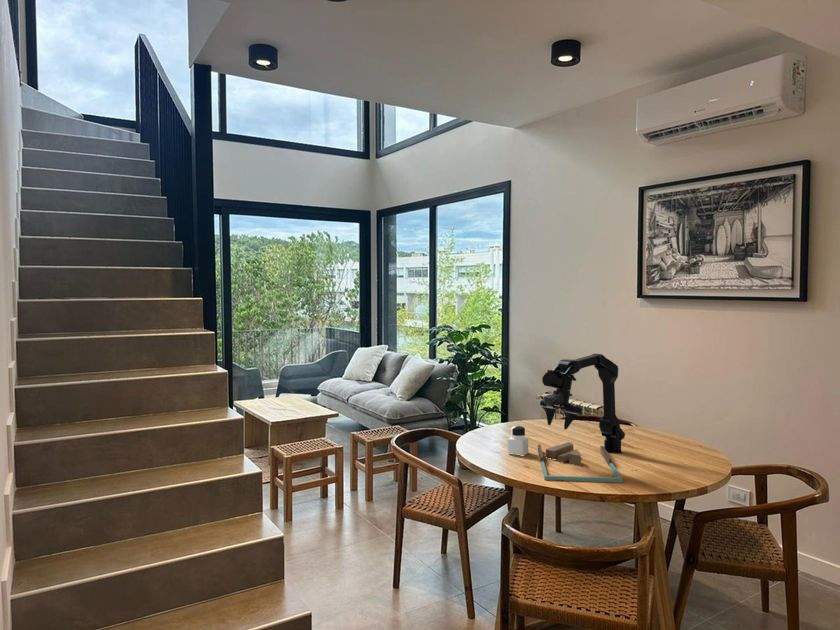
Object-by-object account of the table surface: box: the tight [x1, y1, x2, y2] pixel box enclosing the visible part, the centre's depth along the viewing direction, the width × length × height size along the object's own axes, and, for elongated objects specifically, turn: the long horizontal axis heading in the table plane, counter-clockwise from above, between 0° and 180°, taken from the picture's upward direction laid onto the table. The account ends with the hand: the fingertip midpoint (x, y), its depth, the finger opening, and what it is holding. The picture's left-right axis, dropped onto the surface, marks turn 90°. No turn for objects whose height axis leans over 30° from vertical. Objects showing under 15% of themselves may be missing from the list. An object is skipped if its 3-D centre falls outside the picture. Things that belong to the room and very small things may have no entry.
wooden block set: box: [545, 441, 582, 467], centre depth 243 cm, size 17×6×18 cm
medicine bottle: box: [507, 425, 529, 456], centre depth 251 cm, size 7×7×12 cm
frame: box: [540, 461, 623, 484], centre depth 223 cm, size 28×19×2 cm
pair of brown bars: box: [537, 444, 613, 466], centre depth 243 cm, size 28×20×3 cm
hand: (557, 427), depth 234 cm, fingers open, 9 cm apart
